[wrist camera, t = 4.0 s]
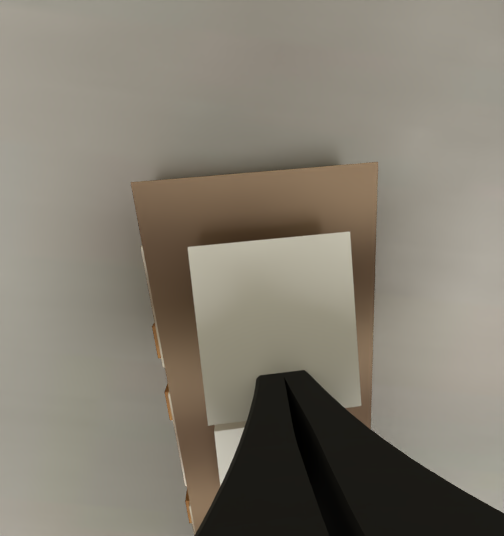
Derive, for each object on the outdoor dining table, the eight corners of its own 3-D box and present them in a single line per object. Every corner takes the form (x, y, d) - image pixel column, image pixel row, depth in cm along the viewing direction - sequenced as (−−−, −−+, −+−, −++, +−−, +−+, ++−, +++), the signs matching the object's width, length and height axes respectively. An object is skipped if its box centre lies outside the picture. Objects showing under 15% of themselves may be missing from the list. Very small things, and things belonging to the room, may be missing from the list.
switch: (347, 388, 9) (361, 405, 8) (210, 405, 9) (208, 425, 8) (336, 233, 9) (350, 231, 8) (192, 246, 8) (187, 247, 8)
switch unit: (343, 526, 18) (377, 625, 14) (206, 546, 17) (199, 656, 13) (342, 169, 12) (399, 157, 8) (143, 186, 12) (99, 182, 8)
